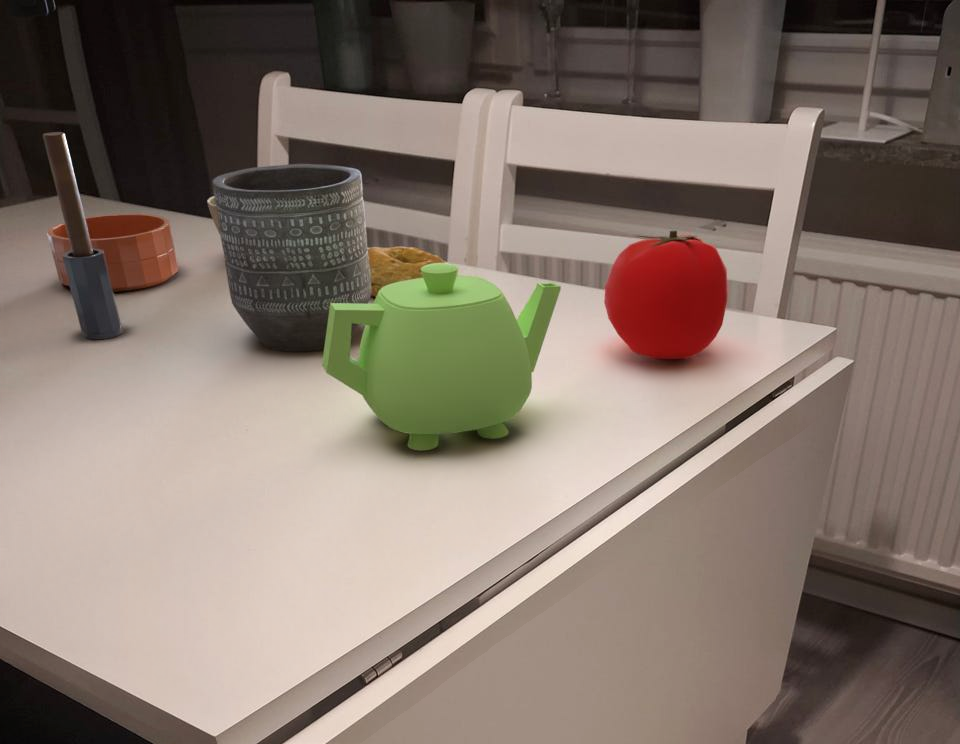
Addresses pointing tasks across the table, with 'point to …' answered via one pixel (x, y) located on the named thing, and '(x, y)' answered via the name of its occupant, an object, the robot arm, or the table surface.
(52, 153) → the stick
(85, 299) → the tube
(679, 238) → the tomato
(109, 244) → the bowl
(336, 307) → the teapot
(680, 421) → the table surface
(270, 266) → the planter
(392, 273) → the bagel
